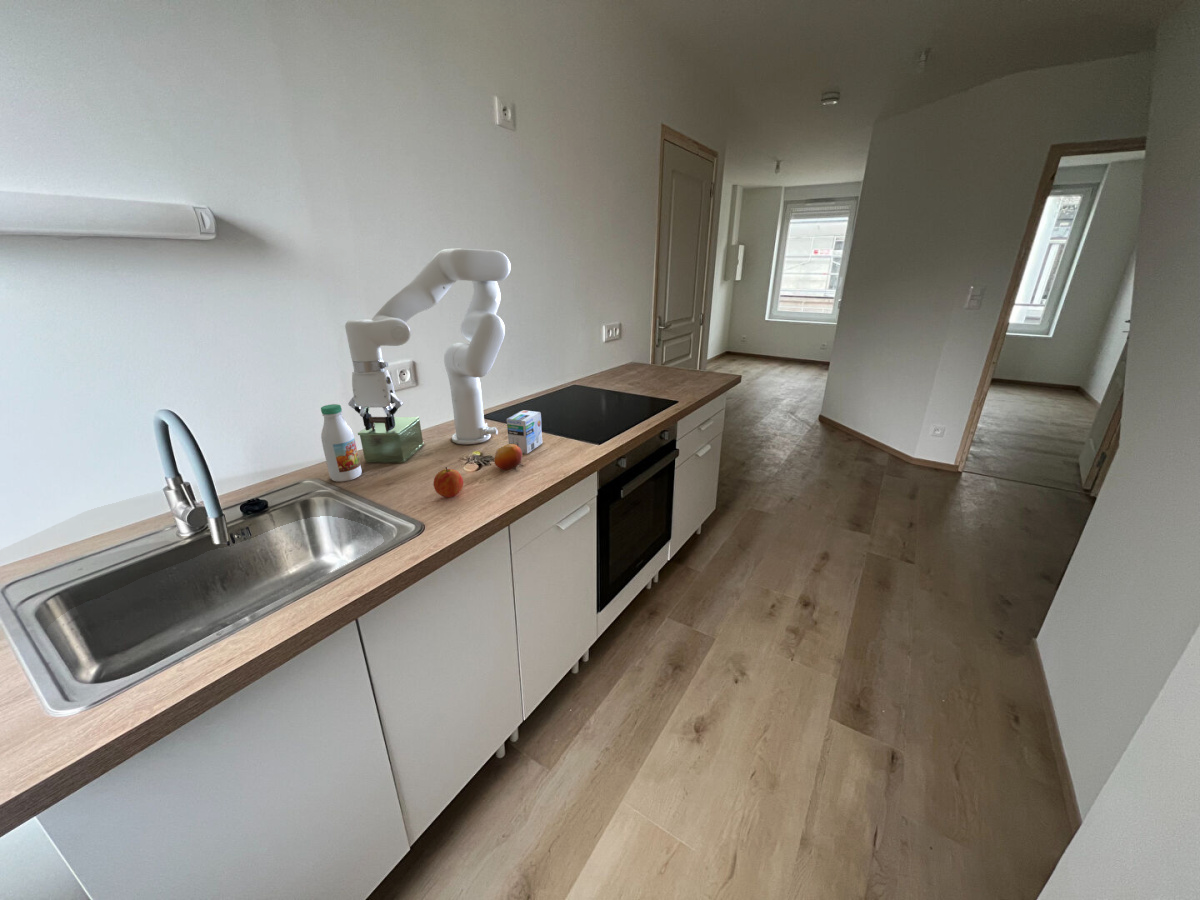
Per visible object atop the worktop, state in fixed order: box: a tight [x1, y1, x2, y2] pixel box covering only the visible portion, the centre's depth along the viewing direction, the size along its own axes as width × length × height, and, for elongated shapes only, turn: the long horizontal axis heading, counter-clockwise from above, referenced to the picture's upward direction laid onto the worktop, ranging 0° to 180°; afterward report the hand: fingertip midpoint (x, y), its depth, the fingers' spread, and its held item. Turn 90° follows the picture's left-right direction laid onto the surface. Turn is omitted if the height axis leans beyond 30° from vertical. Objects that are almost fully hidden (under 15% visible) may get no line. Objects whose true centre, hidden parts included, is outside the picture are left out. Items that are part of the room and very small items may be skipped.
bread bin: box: [359, 419, 424, 464], centre depth 138 cm, size 15×12×9 cm
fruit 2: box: [493, 443, 524, 472], centre depth 128 cm, size 8×8×8 cm
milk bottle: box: [320, 403, 363, 482], centre depth 120 cm, size 8×8×20 cm
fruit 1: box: [433, 466, 464, 499], centre depth 111 cm, size 7×7×8 cm
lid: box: [357, 416, 420, 436], centre depth 135 cm, size 15×12×5 cm
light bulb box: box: [506, 409, 543, 455], centre depth 142 cm, size 11×7×11 cm, turn 160°
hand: (380, 428), depth 130 cm, fingers open, 5 cm apart
